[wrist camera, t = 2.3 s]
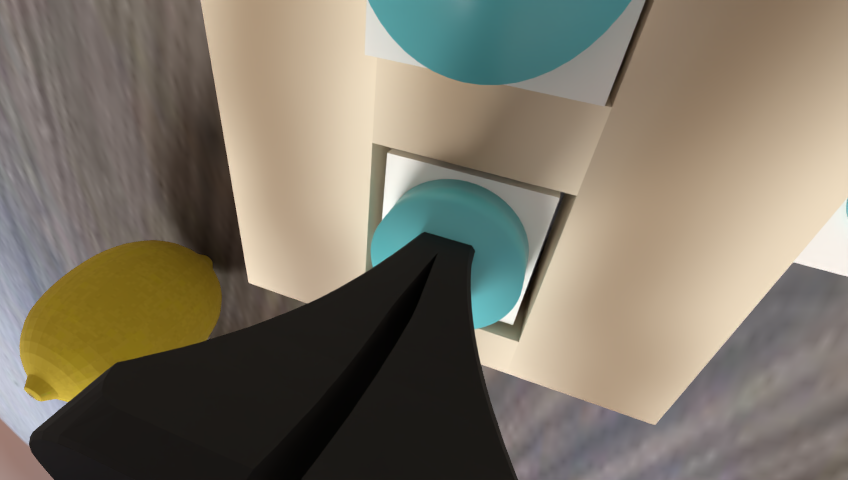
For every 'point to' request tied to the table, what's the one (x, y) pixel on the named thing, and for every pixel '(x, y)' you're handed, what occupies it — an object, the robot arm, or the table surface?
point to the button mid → (509, 41)
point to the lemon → (117, 315)
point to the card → (829, 245)
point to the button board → (556, 174)
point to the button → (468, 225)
